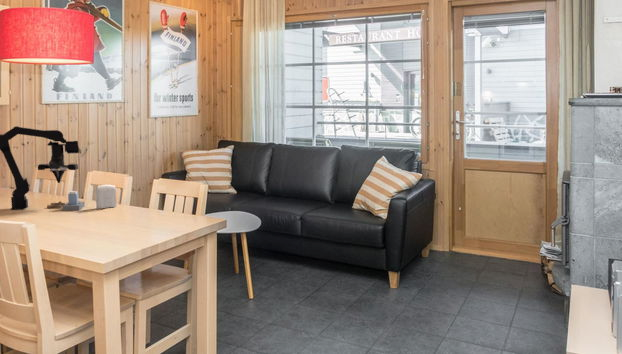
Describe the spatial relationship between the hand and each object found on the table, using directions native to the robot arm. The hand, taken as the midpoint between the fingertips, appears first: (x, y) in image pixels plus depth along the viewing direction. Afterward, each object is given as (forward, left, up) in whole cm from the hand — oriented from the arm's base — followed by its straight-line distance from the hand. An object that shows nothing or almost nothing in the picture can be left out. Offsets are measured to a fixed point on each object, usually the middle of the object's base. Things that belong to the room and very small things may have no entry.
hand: (58, 182), depth 273 cm
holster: (0, +1, -13) cm, 13 cm away
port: (+9, -8, -12) cm, 17 cm away
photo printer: (+25, -7, -13) cm, 29 cm away
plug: (+9, -8, -12) cm, 17 cm away
